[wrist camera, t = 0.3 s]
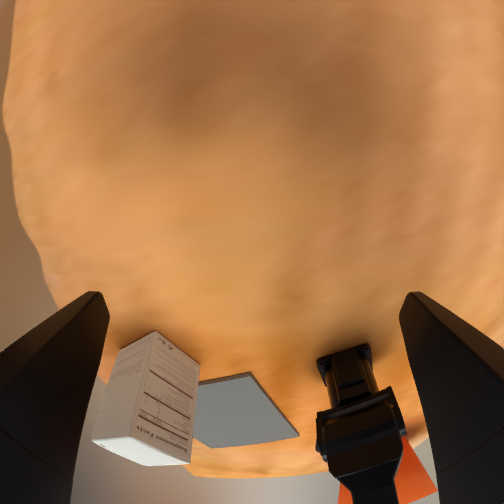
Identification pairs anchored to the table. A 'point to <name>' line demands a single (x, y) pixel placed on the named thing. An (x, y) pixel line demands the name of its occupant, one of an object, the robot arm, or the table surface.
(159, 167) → the table surface
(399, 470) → the flowerpot
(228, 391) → the mat
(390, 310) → the table surface
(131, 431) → the supplement box
